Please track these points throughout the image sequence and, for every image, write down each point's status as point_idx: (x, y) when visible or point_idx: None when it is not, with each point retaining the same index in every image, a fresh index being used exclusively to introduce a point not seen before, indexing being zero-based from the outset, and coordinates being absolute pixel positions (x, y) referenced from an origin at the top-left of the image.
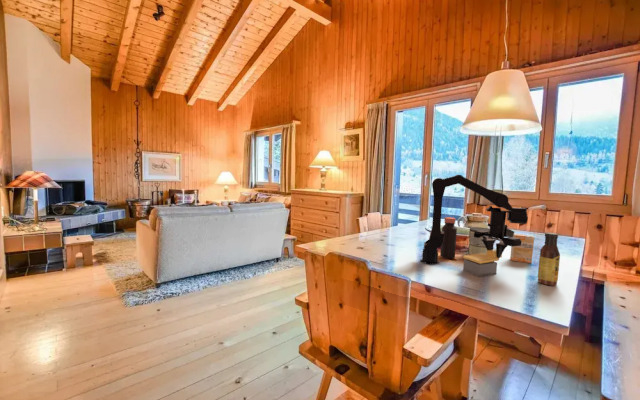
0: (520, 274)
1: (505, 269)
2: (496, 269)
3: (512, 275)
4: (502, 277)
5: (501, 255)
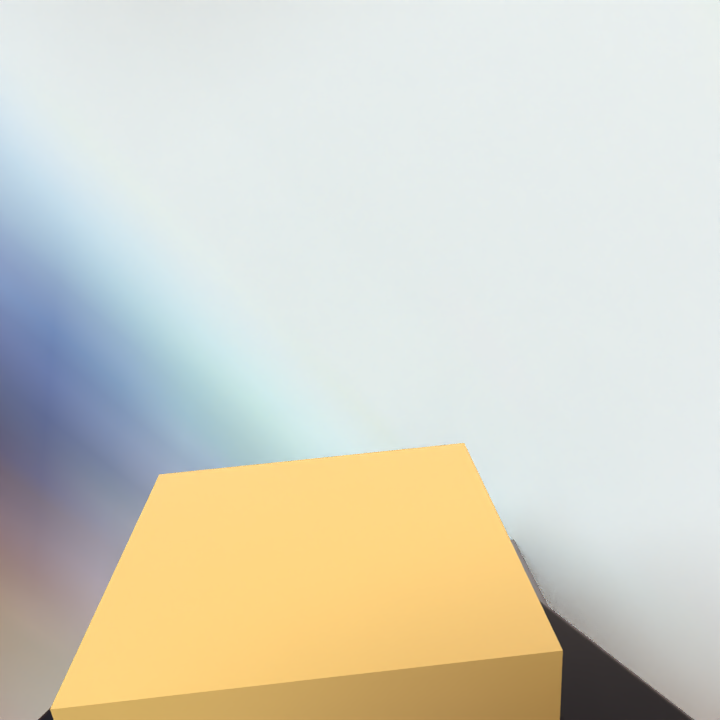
0: (699, 45)
1: (332, 78)
2: (543, 600)
3: (669, 295)
4: (665, 560)
5: (485, 499)
